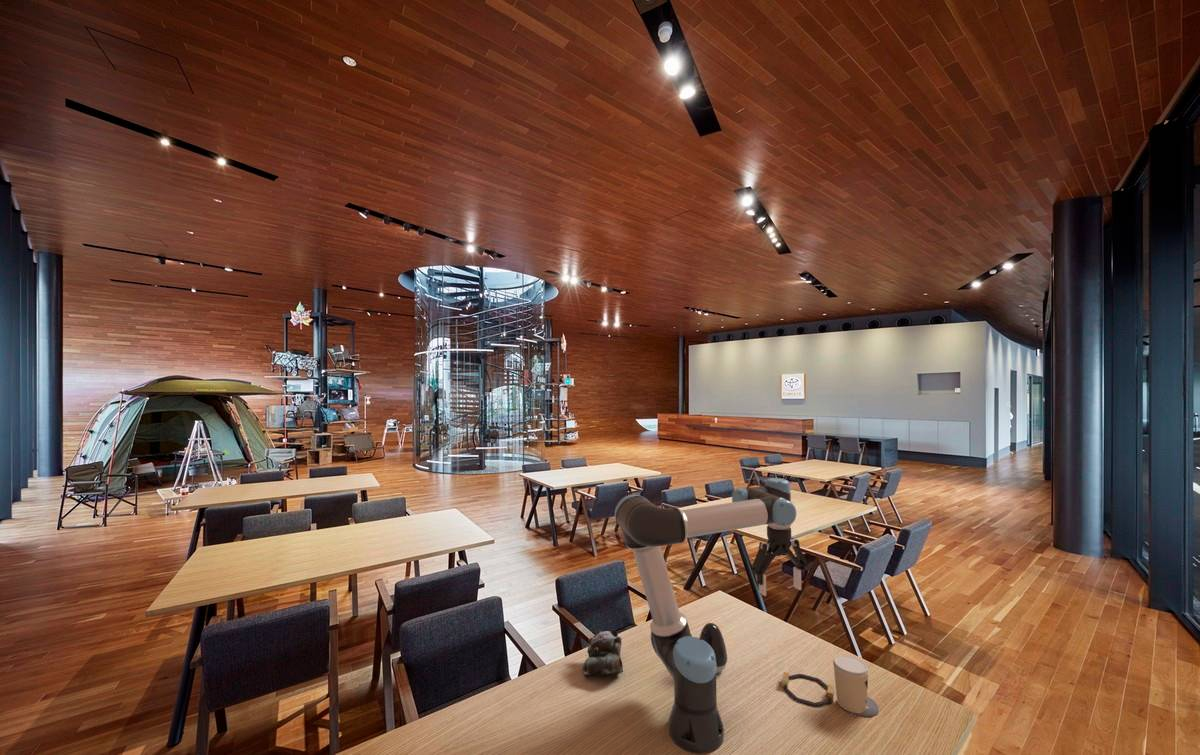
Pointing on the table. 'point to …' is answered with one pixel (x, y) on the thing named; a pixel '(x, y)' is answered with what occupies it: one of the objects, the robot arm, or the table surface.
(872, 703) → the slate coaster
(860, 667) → the coffee cup
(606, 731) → the table surface
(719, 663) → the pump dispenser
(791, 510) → the robot arm
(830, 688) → the socket ring
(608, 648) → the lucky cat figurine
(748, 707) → the table surface
